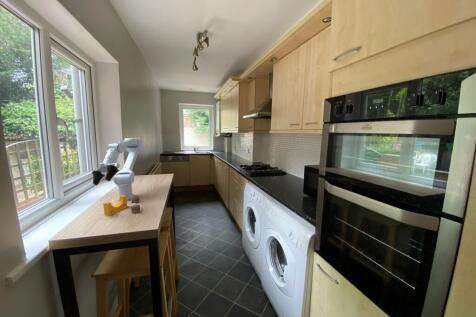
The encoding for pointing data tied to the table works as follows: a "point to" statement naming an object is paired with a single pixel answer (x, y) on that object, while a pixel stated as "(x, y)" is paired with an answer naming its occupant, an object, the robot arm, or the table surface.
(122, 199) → the pipe clamp
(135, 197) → the post
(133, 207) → the post
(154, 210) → the table surface
